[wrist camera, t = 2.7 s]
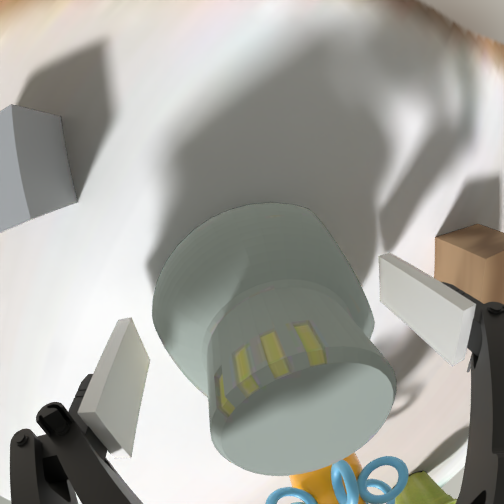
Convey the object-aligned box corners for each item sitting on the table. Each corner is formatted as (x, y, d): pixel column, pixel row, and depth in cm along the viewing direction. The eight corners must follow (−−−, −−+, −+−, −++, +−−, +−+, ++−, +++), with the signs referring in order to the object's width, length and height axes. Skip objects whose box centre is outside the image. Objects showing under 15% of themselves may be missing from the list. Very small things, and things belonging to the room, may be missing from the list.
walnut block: (477, 223, 18) (524, 240, 13) (473, 281, 20) (514, 306, 15) (434, 236, 18) (485, 259, 13) (432, 300, 19) (474, 331, 14)
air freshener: (355, 319, 18) (445, 424, 9) (249, 384, 19) (278, 515, 9) (270, 169, 15) (369, 182, 6) (140, 257, 15) (67, 378, 6)
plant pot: (377, 489, 29) (399, 532, 20) (434, 455, 29) (461, 494, 20) (383, 502, 32) (401, 539, 23) (432, 474, 31) (453, 507, 23)
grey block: (61, 116, 13) (11, 104, 8) (78, 202, 14) (31, 219, 9) (-1, 149, 12) (-54, 151, 7) (15, 226, 14) (-35, 249, 9)
